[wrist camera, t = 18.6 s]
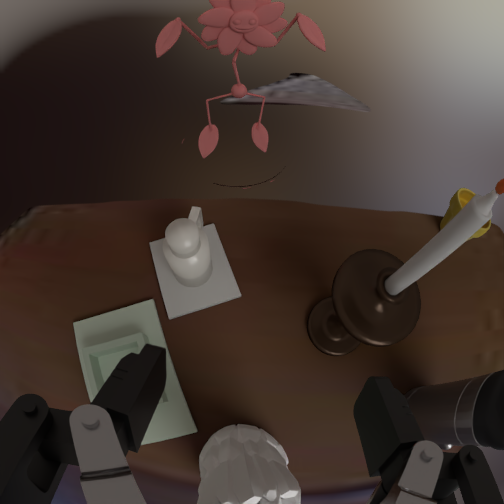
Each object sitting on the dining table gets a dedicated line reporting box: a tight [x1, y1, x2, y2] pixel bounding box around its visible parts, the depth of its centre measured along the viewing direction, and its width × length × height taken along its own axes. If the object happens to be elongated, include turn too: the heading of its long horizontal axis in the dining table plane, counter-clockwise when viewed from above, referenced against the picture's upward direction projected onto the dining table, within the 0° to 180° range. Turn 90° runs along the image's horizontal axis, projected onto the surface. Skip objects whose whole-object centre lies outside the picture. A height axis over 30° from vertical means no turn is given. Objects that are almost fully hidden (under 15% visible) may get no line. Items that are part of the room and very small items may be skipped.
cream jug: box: [163, 206, 213, 287], centre depth 38 cm, size 9×6×10 cm
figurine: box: [156, 0, 326, 187], centre depth 39 cm, size 15×26×35 cm, turn 98°
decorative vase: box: [197, 424, 301, 504], centre depth 19 cm, size 11×11×25 cm
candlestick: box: [307, 179, 504, 356], centre depth 25 cm, size 11×11×35 cm
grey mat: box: [150, 223, 241, 319], centre depth 42 cm, size 13×11×1 cm
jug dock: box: [73, 299, 198, 445], centre depth 32 cm, size 20×14×4 cm
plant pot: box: [440, 188, 491, 241], centre depth 47 cm, size 10×10×10 cm
